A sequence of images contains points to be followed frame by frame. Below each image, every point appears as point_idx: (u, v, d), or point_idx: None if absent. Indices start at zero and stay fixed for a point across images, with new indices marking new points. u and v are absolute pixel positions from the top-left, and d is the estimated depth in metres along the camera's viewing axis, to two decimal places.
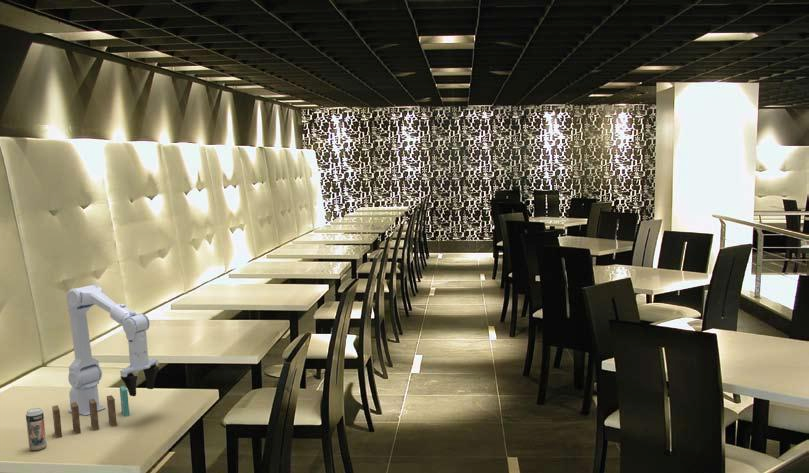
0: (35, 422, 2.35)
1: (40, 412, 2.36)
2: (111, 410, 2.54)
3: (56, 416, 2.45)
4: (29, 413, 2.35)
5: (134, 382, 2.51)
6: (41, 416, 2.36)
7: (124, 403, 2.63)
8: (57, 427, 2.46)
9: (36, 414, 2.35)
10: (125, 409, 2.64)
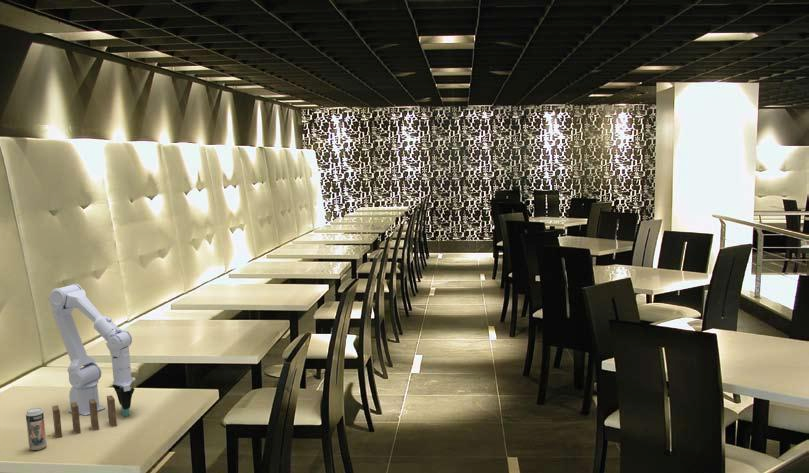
0: (35, 422, 2.35)
1: (40, 412, 2.36)
2: (111, 410, 2.54)
3: (56, 416, 2.45)
4: (29, 413, 2.35)
5: None
6: (41, 416, 2.36)
7: None
8: (57, 427, 2.46)
9: (36, 414, 2.35)
10: (125, 409, 2.64)
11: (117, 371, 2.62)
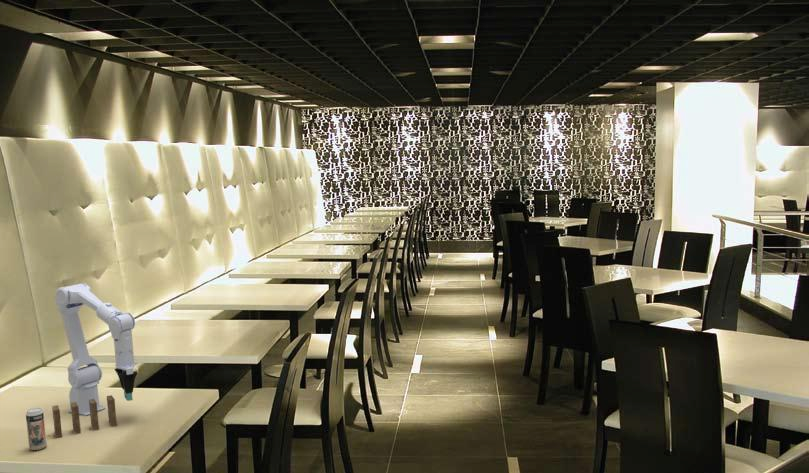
0: (35, 422, 2.35)
1: (40, 412, 2.36)
2: (111, 410, 2.54)
3: (56, 416, 2.45)
4: (29, 413, 2.35)
5: None
6: (41, 416, 2.36)
7: None
8: (57, 427, 2.46)
9: (36, 414, 2.35)
10: (128, 393, 2.57)
11: (119, 354, 2.55)
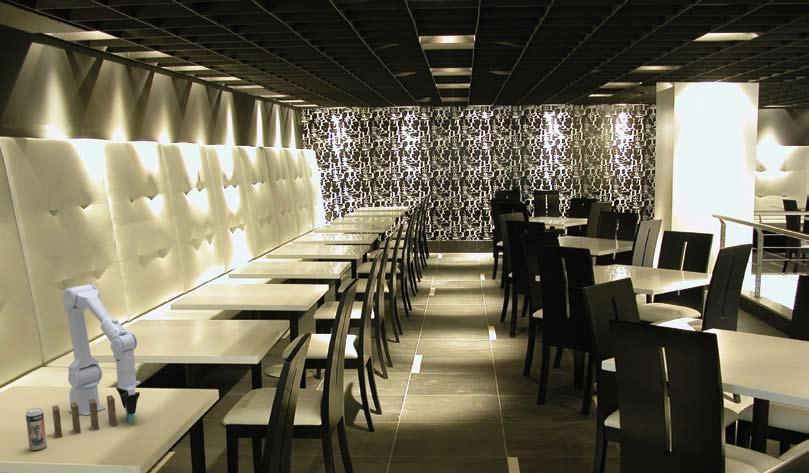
0: (35, 422, 2.35)
1: (40, 412, 2.36)
2: (111, 410, 2.54)
3: (56, 416, 2.45)
4: (29, 413, 2.35)
5: None
6: (41, 416, 2.36)
7: None
8: (57, 427, 2.46)
9: (36, 414, 2.35)
10: (130, 416, 2.57)
11: (121, 374, 2.55)
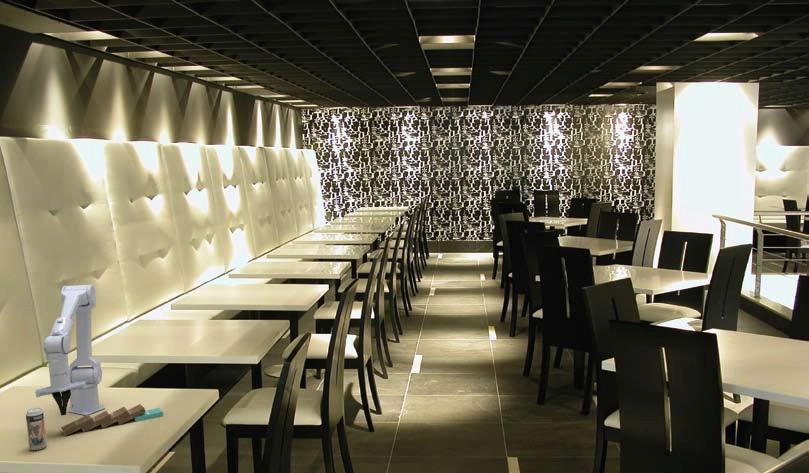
0: (35, 422, 2.35)
1: (40, 412, 2.36)
2: (134, 413, 2.58)
3: (85, 423, 2.50)
4: (29, 413, 2.35)
5: (59, 401, 2.46)
6: (41, 416, 2.36)
7: (149, 415, 2.60)
8: (74, 428, 2.48)
9: (36, 414, 2.35)
10: (142, 417, 2.59)
11: None
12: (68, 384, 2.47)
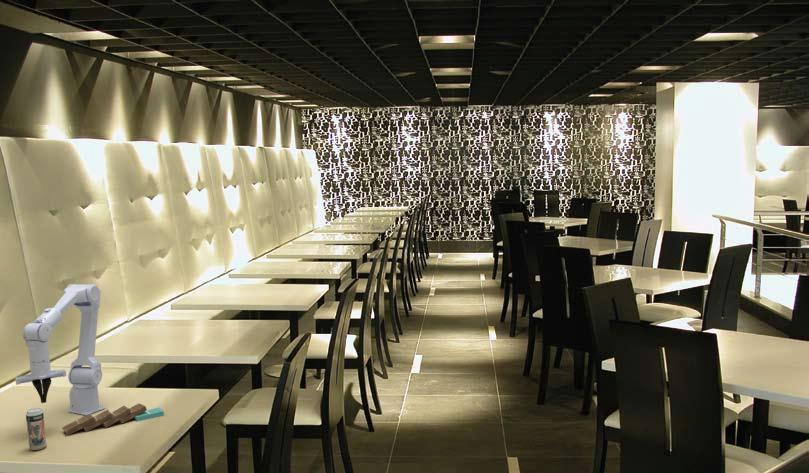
0: (35, 422, 2.35)
1: (40, 412, 2.36)
2: (135, 412, 2.59)
3: (87, 422, 2.51)
4: (29, 413, 2.35)
5: (39, 389, 2.46)
6: (41, 416, 2.36)
7: (150, 415, 2.61)
8: (76, 427, 2.49)
9: (36, 414, 2.35)
10: (143, 417, 2.59)
11: None
12: (48, 372, 2.48)
